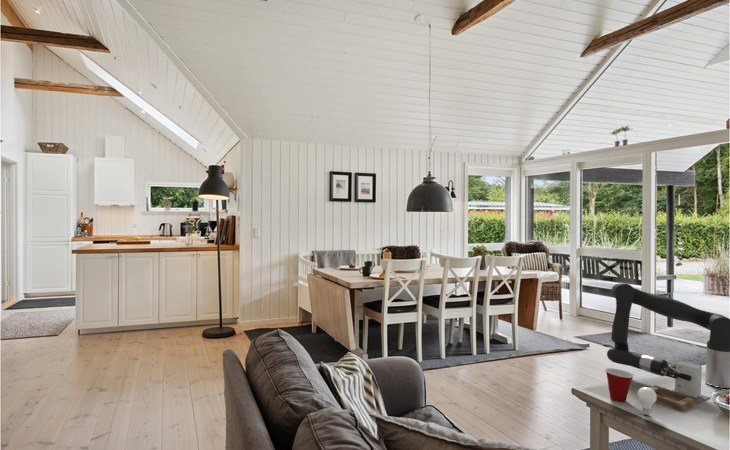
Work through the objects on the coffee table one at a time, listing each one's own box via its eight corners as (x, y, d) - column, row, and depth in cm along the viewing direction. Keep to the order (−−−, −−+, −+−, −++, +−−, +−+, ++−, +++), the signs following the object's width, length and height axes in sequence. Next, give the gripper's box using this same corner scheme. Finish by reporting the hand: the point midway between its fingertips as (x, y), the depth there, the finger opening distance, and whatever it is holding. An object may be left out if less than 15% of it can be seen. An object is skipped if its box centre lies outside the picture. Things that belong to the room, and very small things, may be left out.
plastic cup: (639, 403, 185) (640, 374, 184) (619, 405, 181) (620, 377, 181) (617, 393, 195) (618, 366, 195) (598, 395, 192) (599, 368, 191)
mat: (678, 388, 202) (678, 387, 202) (709, 398, 192) (710, 397, 192) (666, 393, 196) (666, 392, 196) (697, 403, 186) (697, 402, 186)
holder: (655, 390, 199) (655, 385, 199) (696, 404, 185) (696, 398, 185) (639, 396, 191) (639, 391, 191) (681, 411, 178) (681, 405, 178)
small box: (700, 394, 193) (702, 365, 193) (696, 398, 189) (698, 368, 189) (679, 388, 199) (680, 360, 199) (674, 391, 195) (675, 362, 195)
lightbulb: (638, 410, 178) (639, 383, 177) (657, 415, 174) (658, 387, 173) (635, 415, 173) (636, 387, 172) (655, 420, 169) (656, 392, 168)
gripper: (646, 359, 202) (687, 371, 188) (661, 355, 210) (702, 365, 196) (645, 375, 202) (686, 388, 188) (660, 370, 210) (701, 382, 196)
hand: (694, 376), depth 192 cm, fingers closed on small box, 6 cm apart
